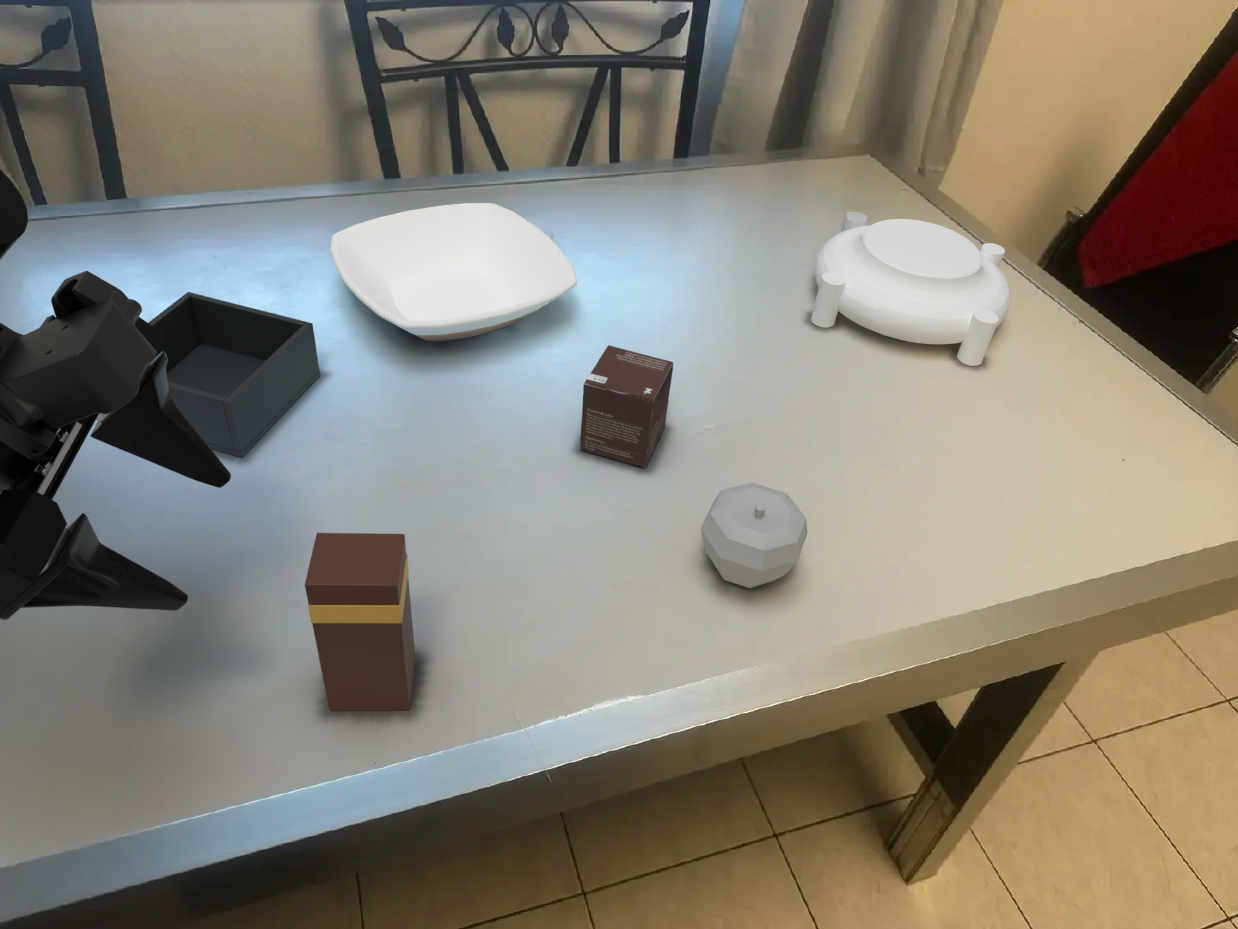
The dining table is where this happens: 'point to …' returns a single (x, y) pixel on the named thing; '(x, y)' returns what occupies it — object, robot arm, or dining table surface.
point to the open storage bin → (234, 367)
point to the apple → (753, 534)
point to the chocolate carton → (362, 620)
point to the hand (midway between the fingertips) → (206, 539)
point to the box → (625, 405)
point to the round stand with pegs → (912, 284)
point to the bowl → (451, 269)
